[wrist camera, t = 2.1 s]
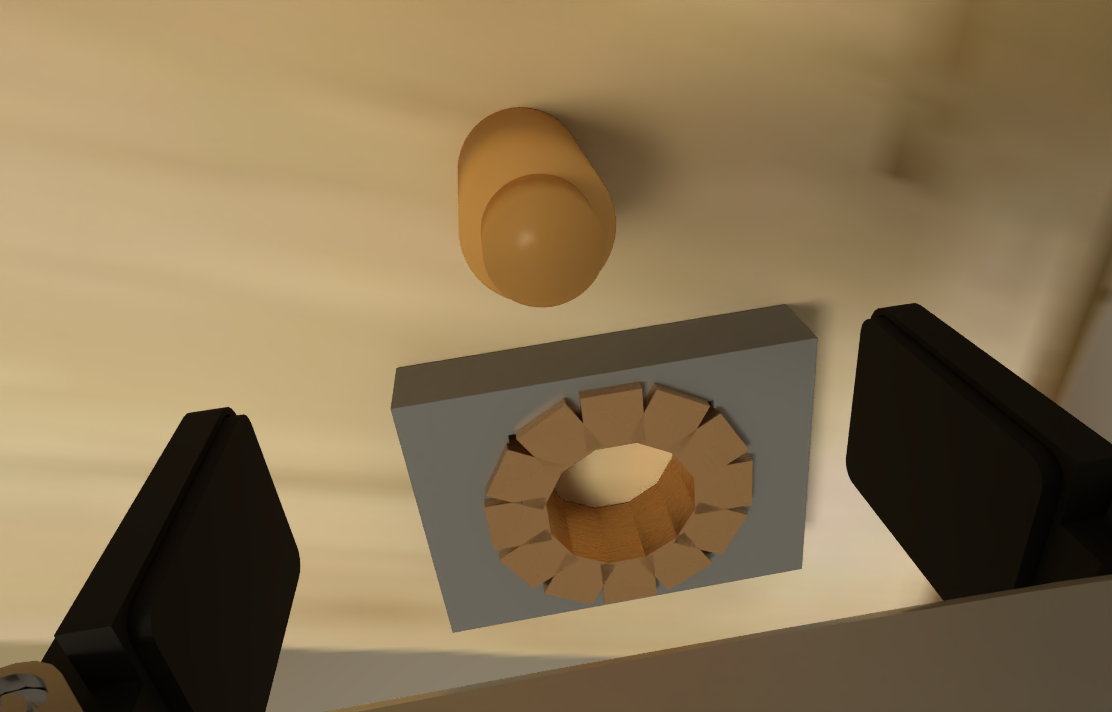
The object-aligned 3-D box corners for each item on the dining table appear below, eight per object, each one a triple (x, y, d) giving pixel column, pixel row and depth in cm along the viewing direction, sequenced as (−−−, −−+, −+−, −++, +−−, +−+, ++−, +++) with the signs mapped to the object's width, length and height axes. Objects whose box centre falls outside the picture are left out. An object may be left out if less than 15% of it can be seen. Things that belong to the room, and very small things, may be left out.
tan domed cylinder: (574, 98, 25) (621, 153, 18) (586, 221, 27) (633, 313, 20) (446, 117, 24) (444, 180, 18) (469, 240, 27) (475, 339, 20)
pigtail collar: (724, 327, 30) (754, 369, 27) (724, 523, 35) (750, 577, 32) (463, 370, 29) (464, 418, 26) (504, 563, 35) (509, 621, 31)
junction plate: (785, 304, 30) (817, 337, 27) (776, 523, 35) (801, 568, 33) (396, 368, 29) (390, 409, 26) (452, 581, 35) (452, 632, 32)
